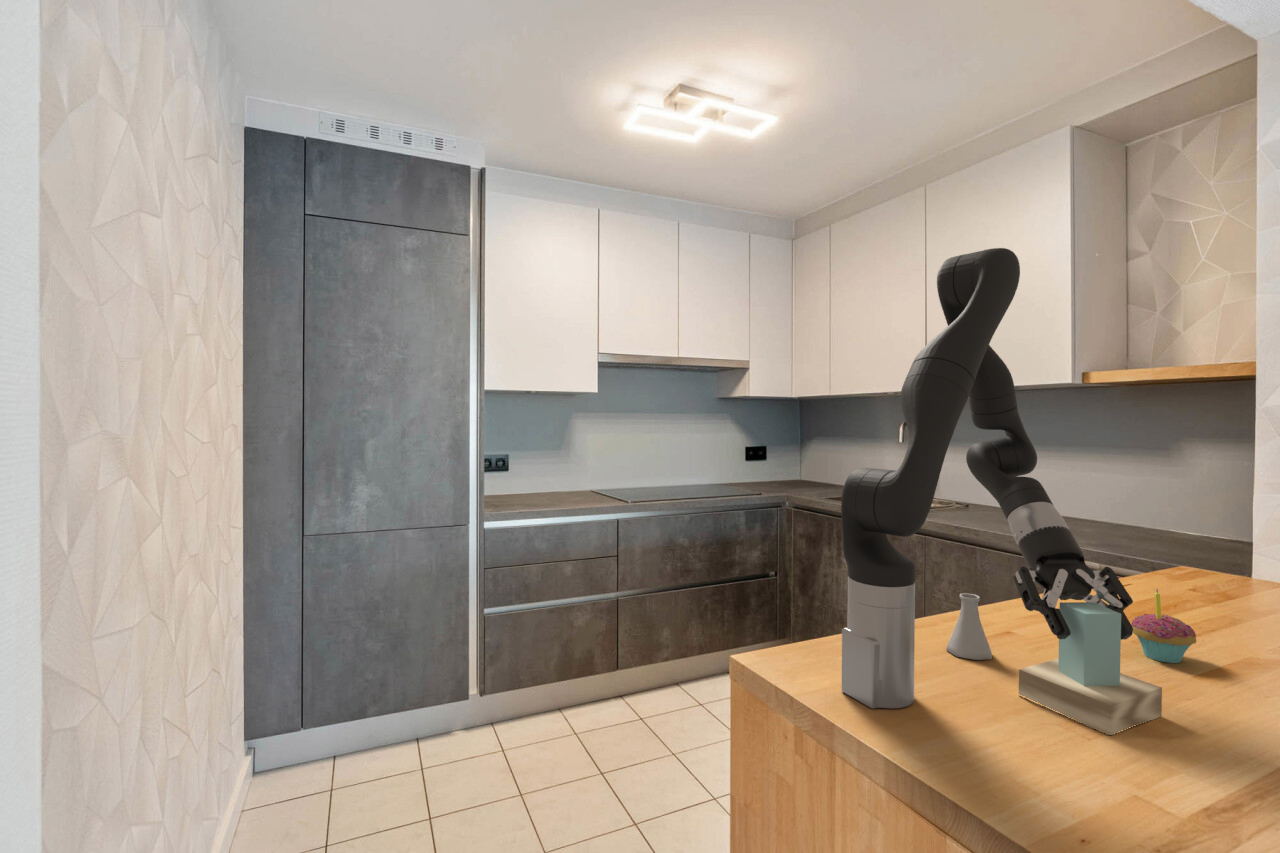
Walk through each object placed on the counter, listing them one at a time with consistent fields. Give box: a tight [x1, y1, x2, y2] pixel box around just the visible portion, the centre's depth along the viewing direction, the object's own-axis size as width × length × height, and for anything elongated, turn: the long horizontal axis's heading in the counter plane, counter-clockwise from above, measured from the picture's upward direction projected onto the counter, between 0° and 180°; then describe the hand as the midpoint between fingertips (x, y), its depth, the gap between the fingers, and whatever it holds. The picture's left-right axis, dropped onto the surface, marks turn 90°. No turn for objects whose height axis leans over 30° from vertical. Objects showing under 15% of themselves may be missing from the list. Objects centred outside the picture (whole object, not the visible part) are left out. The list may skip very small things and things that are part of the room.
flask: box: [946, 592, 993, 661], centre depth 105 cm, size 7×7×10 cm
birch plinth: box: [1018, 657, 1163, 736], centre depth 86 cm, size 12×12×4 cm
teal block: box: [1058, 601, 1122, 686], centre depth 86 cm, size 5×5×10 cm
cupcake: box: [1130, 588, 1197, 664], centre depth 103 cm, size 9×8×12 cm
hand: (1096, 637), depth 85 cm, fingers open, 8 cm apart
